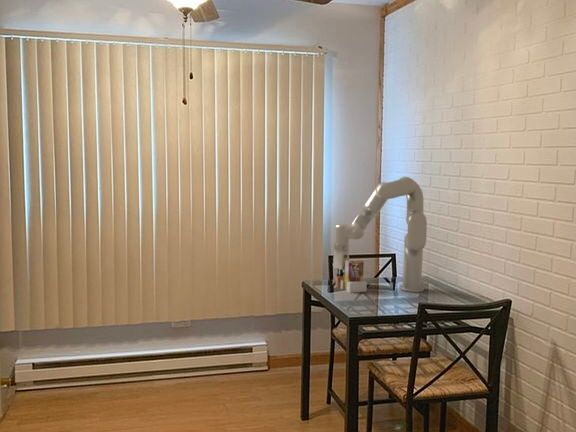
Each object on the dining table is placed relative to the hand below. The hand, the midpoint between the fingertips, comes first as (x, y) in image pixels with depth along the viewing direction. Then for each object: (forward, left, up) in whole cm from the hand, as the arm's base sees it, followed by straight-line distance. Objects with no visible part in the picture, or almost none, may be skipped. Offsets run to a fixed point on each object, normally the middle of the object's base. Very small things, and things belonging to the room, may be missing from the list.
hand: (339, 281), depth 324 cm
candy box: (0, +13, -2) cm, 14 cm away
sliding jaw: (0, +7, -1) cm, 7 cm away
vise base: (0, +8, -3) cm, 8 cm away
